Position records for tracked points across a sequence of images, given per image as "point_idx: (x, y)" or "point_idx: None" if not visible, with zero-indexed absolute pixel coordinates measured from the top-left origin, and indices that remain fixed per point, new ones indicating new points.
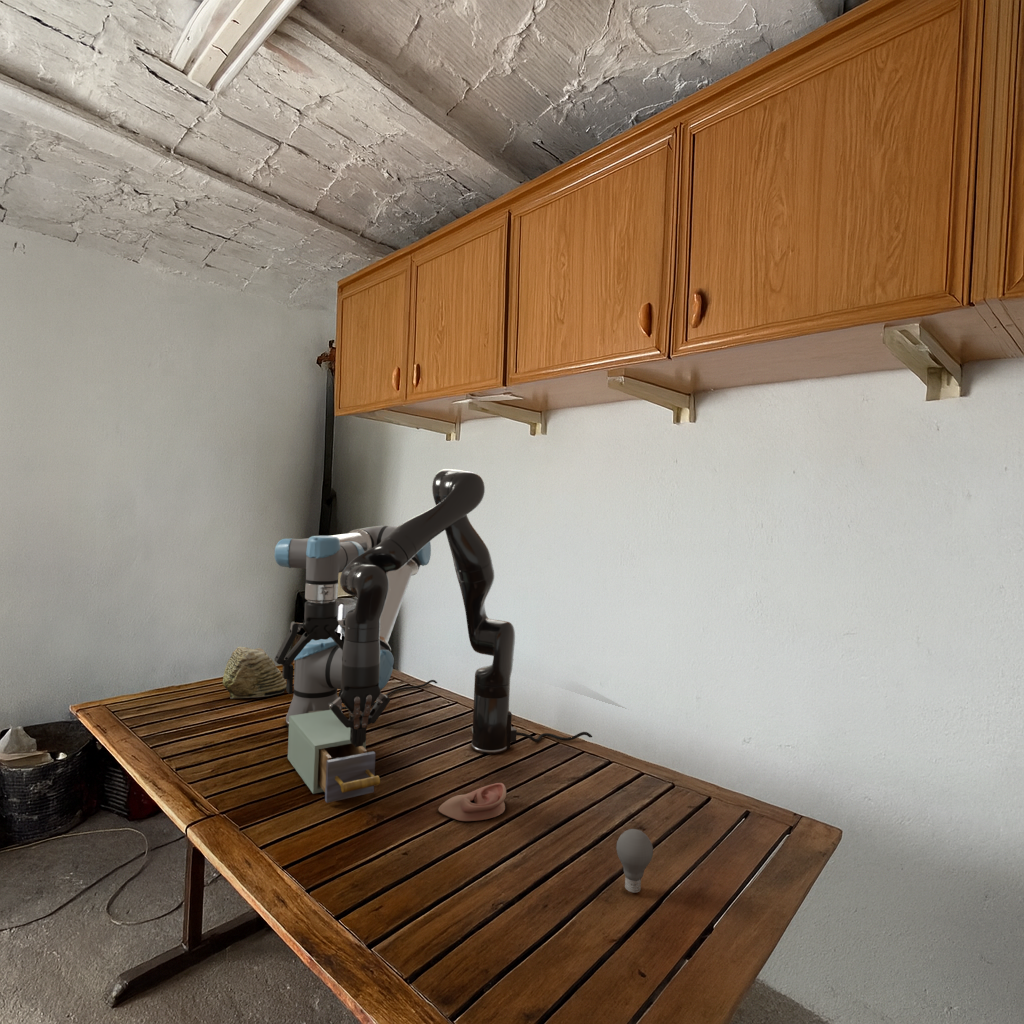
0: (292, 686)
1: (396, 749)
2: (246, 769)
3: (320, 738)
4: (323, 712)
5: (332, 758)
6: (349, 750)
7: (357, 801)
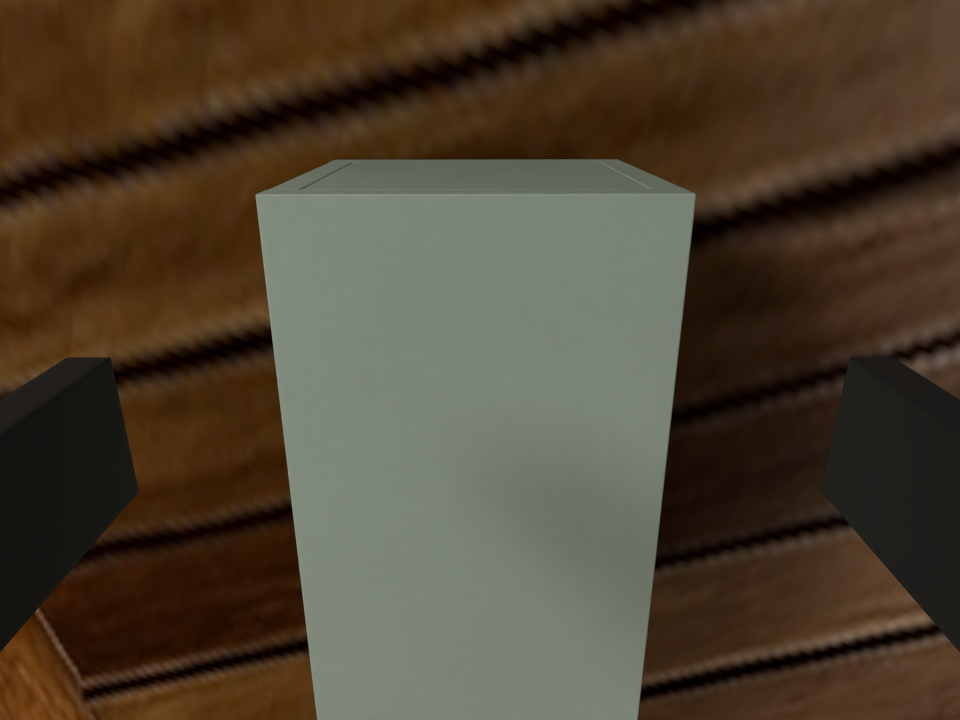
0: (88, 543)
1: (923, 318)
2: (102, 201)
3: (379, 699)
4: (559, 242)
5: None
6: None
7: None
